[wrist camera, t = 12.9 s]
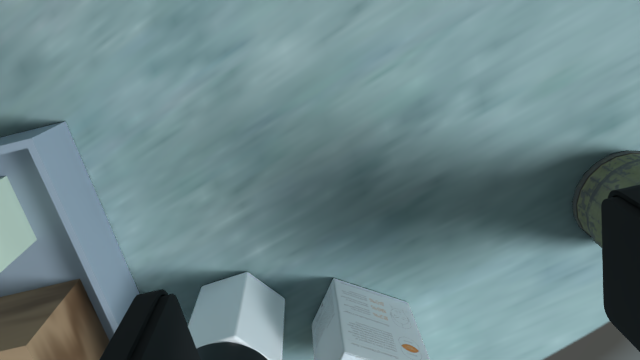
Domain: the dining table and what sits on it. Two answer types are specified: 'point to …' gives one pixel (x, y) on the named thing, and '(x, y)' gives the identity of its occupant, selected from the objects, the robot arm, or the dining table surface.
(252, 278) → the jar
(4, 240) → the pale green block
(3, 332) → the walnut block
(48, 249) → the box
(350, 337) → the small box
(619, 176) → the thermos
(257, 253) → the dining table surface
